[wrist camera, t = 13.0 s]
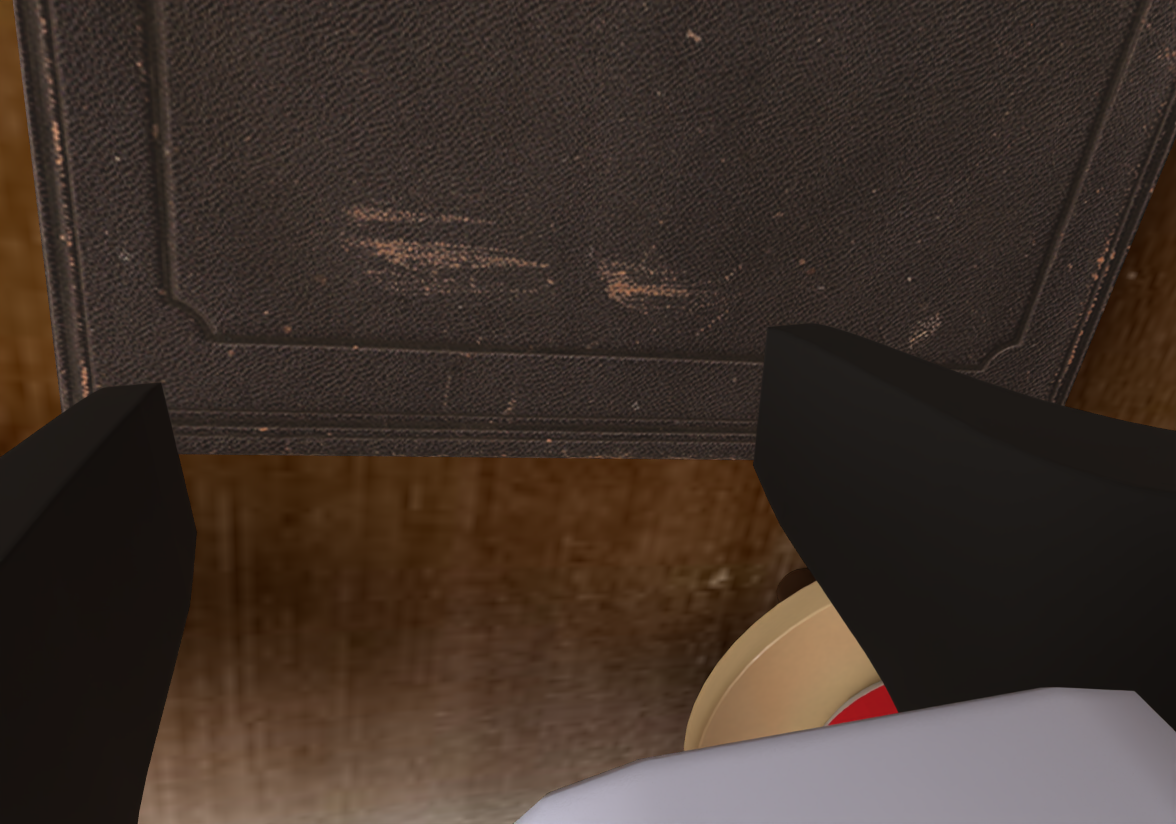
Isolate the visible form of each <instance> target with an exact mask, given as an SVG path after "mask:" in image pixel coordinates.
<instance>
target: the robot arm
mask: <svg viewBox="0 0 1176 824" xmlns="http://www.w3.org/2000/svg"><path fill="white" fill-rule="evenodd" d="M753 466H754V468H755V471H756V473H757V475H758V478H759V480H760V482H761V485H762V487H763V489H764V492H765V494H766V496H767V499H768V501H769V503H770V505H771V507H772V509H773V511H774V513H775V515H776V517H777V519H778V521H779V523H780V526H781V527H782V529H783V530H784V532H785V534H786V535H787V537H788V538H789V540H790V541H791V543H792V544H793V546H794V548H795V549H796V551H797V552H798V554H799V555H800V557H801V558H802V560H803V561H804V563H805V564H806V566H807V567H808V569H809V570H810V572H811V573H812V575H813V576H814V578H815V579H816V581H817V582H818V584H819V585H820V587H821V588H822V590H823V591H824V593H825V594H826V596H827V597H828V599H829V600H830V602H831V603H832V605H833V606H834V608H835V609H836V611H837V612H838V614H839V615H840V617H841V618H842V620H843V621H844V623H845V624H846V625H847V627H848V628H849V630H850V631H851V633H852V634H853V636H854V637H855V639H856V640H857V642H858V643H859V645H860V646H861V648H862V649H863V651H864V652H865V654H866V655H867V657H868V659H869V660H870V662H871V664H872V665H873V667H874V669H875V670H876V672H877V674H878V675H879V677H880V679H881V680H882V682H883V684H884V685H885V687H886V689H887V691H888V693H889V695H890V697H891V699H892V701H893V703H894V705H895V707H896V709H897V711H898V713H896V714H890V715H884V716H879V717H873V718H867V719H862V720H856V721H851V722H845V723H839V724H834V725H828V726H823V727H817V728H811V729H806V730H800V731H794V732H789V733H783V734H778V735H772V736H766V737H761V738H755V739H750V740H744V741H738V742H733V743H727V744H721V745H716V746H710V747H705V748H699V749H693V750H688V751H682V752H677V753H671V754H665V755H660V756H654V757H648V758H643V759H638V760H636V761H633V762H630V763H627V764H625V765H622V766H619V767H617V768H614V769H611V770H608V771H606V772H603V773H600V774H598V775H595V776H592V777H589V778H587V779H584V780H581V781H579V782H576V783H573V784H571V785H568V786H565V787H562V788H560V789H557V790H554V791H552V792H549V793H547V794H546V795H545V796H544V797H543V798H542V799H540V800H539V801H538V802H537V803H536V804H535V805H534V806H533V807H531V808H530V809H529V810H528V811H527V812H526V813H525V814H524V815H522V816H521V817H520V818H519V819H518V820H517V821H516V822H515V823H513V824H1176V431H1173V430H1168V429H1162V428H1156V427H1152V426H1147V425H1142V424H1137V423H1132V422H1127V421H1123V420H1119V419H1115V418H1110V417H1106V416H1102V415H1098V414H1094V413H1090V412H1086V411H1082V410H1078V409H1074V408H1070V407H1066V406H1062V405H1059V404H1055V403H1052V402H1048V401H1045V400H1041V399H1038V398H1034V397H1031V396H1028V395H1025V394H1022V393H1019V392H1016V391H1012V390H1009V389H1006V388H1003V387H1000V386H997V385H994V384H991V383H988V382H985V381H982V380H979V379H976V378H973V377H970V376H967V375H965V374H962V373H959V372H956V371H953V370H951V369H948V368H945V367H942V366H940V365H937V364H934V363H932V362H929V361H926V360H924V359H921V358H918V357H916V356H913V355H910V354H908V353H905V352H902V351H900V350H897V349H894V348H892V347H889V346H886V345H884V344H881V343H878V342H876V341H873V340H870V339H867V338H864V337H862V336H859V335H856V334H853V333H850V332H847V331H844V330H840V329H837V328H833V327H830V326H826V325H821V324H816V323H807V324H796V325H785V326H774V327H767V336H766V346H765V355H764V365H763V375H762V385H761V394H760V404H759V414H758V424H757V433H756V443H755V453H754V462H753ZM196 536H197V531H196V527H195V522H194V518H193V514H192V510H191V506H190V501H189V497H188V493H187V489H186V484H185V480H184V476H183V472H182V468H181V463H180V459H179V455H178V451H177V447H176V442H175V438H174V434H173V430H172V425H171V421H170V417H169V413H168V409H167V404H166V400H165V396H164V392H163V387H162V383H161V382H158V383H147V384H137V385H126V386H115V387H104V388H101V389H99V390H97V391H95V392H93V393H92V394H90V395H88V396H87V397H85V398H84V399H82V400H81V401H79V402H77V403H76V404H75V405H73V406H72V407H70V408H69V409H67V410H66V411H64V412H63V413H62V414H60V415H59V416H57V417H56V418H55V419H53V420H52V421H50V422H49V423H48V424H46V425H45V426H44V427H42V428H41V429H39V430H38V431H37V432H35V433H34V434H32V435H31V436H30V437H28V438H27V439H25V440H24V441H23V442H21V443H20V444H18V445H17V446H16V447H14V448H13V449H11V450H10V451H9V452H7V453H6V454H4V455H3V456H2V457H0V824H138V817H139V810H140V805H141V800H142V795H143V791H144V786H145V781H146V776H147V771H148V767H149V764H150V760H151V756H152V752H153V748H154V744H155V740H156V737H157V733H158V729H159V725H160V721H161V717H162V713H163V710H164V706H165V702H166V698H167V694H168V690H169V686H170V683H171V679H172V675H173V671H174V667H175V663H176V659H177V655H178V651H179V647H180V643H181V639H182V635H183V631H184V627H185V623H186V619H187V615H188V611H189V607H190V600H191V591H192V581H193V572H194V560H195V548H196Z"/></svg>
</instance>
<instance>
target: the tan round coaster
mask: <svg viewBox="0 0 1176 824" xmlns="http://www.w3.org/2000/svg"><path fill="white" fill-rule="evenodd" d="M777 598H778V600H779V602H780V603H779V604H777V605H776V606H775V607H774V608H772V609H771V610H770V611H769V612H767V613H766V614H765V615H764V616H762V617H761V618H760V619H759V620H757V621H756V622H755V623H754V624H753V625H752V626H751V627H750V628H749V629H748V630H747V631H746V632H745V633H744V634H743V635H742V636H741V637H739V638H738V639H737V640H736V641H735V642H734V644H733V645H732V646H731V647H730V648H729V650H728V651H727V652H726V653H725V655H724V656H723V657H722V658H721V659H720V661H719V662H718V663H717V665H716V666H715V668H714V669H713V671H712V672H711V674H710V675H709V677H708V678H707V680H706V681H705V683H704V685H703V687H702V689H701V691H700V693H699V695H698V697H697V699H696V701H695V703H694V706H693V709H692V712H691V715H690V718H689V721H688V724H687V730H686V736H685V742H684V751H688V750H693V749H699V748H705V747H710V746H716V745H721V744H727V743H733V742H738V741H744V740H750V739H755V738H761V737H766V736H772V735H778V734H783V733H789V732H794V731H800V730H806V729H811V728H817V727H823V726H824V724H825V723H826V722H827V721H828V720H829V719H830V718H831V716H832V715H833V714H834V713H835V712H836V711H837V710H838V709H839V708H840V707H841V706H842V705H843V704H844V703H845V702H847V701H848V700H849V699H850V698H852V697H853V696H854V695H856V694H857V693H859V692H860V691H862V690H864V689H865V688H867V687H869V686H871V685H873V684H875V683H877V682H879V681H882V680H881V679H880V677H879V675H878V674H877V672H876V670H875V669H874V667H873V665H872V664H871V662H870V660H869V659H868V657H867V655H866V654H865V652H864V651H863V649H862V648H861V646H860V645H859V643H858V642H857V640H856V639H855V637H854V636H853V634H852V633H851V631H850V630H849V628H848V627H847V625H846V624H845V623H844V621H843V620H842V618H841V617H840V615H839V614H838V612H837V611H836V609H835V608H834V606H833V605H832V603H831V602H830V600H829V599H828V597H827V596H826V594H825V593H824V591H823V590H822V588H821V587H820V585H819V584H818V582H817V581H816V579H815V578H814V576H813V575H812V573H811V572H810V570H809V569H798V570H795V571H793V572H791V573H789V574H788V575H786V576H785V577H784V578H783V579H782V580H781V582H780V583H779V585H778V588H777Z"/></svg>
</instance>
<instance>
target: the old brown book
mask: <svg viewBox="0 0 1176 824" xmlns="http://www.w3.org/2000/svg"><path fill="white" fill-rule="evenodd" d="M13 6H14V14H15V22H16V31H17V39H18V48H19V56H20V65H21V73H22V81H23V90H24V98H25V107H26V115H27V124H28V132H29V140H30V149H31V157H32V166H33V174H34V182H35V191H36V199H37V208H38V216H39V225H40V233H41V241H42V250H43V258H44V267H45V275H46V284H47V292H48V300H49V309H50V317H51V326H52V334H53V343H54V351H55V359H56V368H57V376H58V385H59V393H60V401H61V410H62V413H63V412H64V411H66V410H67V409H69V408H70V407H72V406H73V405H75V404H76V403H77V402H79V401H81V400H82V399H84V398H85V397H87V396H88V395H90V394H92V393H93V392H95V391H97V390H99V389H101V388H104V387H115V386H126V385H137V384H147V383H158V382H161V383H162V387H163V392H164V396H165V400H166V404H167V409H168V413H169V417H170V421H171V425H172V430H173V434H174V438H175V442H176V447H177V451H178V454H221V455H317V456H413V457H509V458H605V459H700V460H754V453H755V443H756V433H757V424H758V414H759V404H760V394H761V385H762V375H763V365H764V355H765V346H766V336H767V327H774V326H785V325H796V324H807V323H816V324H821V325H826V326H830V327H833V328H837V329H840V330H844V331H847V332H850V333H853V334H856V335H859V336H862V337H864V338H867V339H870V340H873V341H876V342H878V343H881V344H884V345H886V346H889V347H892V348H894V349H897V350H900V351H902V352H905V353H908V354H910V355H913V356H916V357H918V358H921V359H924V360H926V361H929V362H932V363H934V364H937V365H940V366H942V367H945V368H948V369H951V370H953V371H956V372H959V373H962V374H965V375H967V376H970V377H973V378H976V379H979V380H982V381H985V382H988V383H991V384H994V385H997V386H1000V387H1003V388H1006V389H1009V390H1012V391H1016V392H1019V393H1022V394H1025V395H1028V396H1031V397H1034V398H1038V399H1041V400H1045V401H1048V402H1052V403H1055V404H1059V405H1062V406H1065V403H1066V401H1067V398H1068V396H1069V393H1070V391H1071V389H1072V386H1073V384H1074V381H1075V379H1076V377H1077V374H1078V372H1079V369H1080V367H1081V365H1082V362H1083V360H1084V357H1085V355H1086V353H1087V350H1088V348H1089V345H1090V343H1091V340H1092V338H1093V336H1094V333H1095V331H1096V328H1097V326H1098V324H1099V321H1100V319H1101V316H1102V314H1103V312H1104V309H1105V307H1106V304H1107V302H1108V300H1109V297H1110V295H1111V292H1112V290H1113V288H1114V285H1115V283H1116V280H1117V278H1118V275H1119V273H1120V271H1121V268H1122V266H1123V263H1124V261H1125V259H1126V256H1127V254H1128V251H1129V249H1130V247H1131V244H1132V242H1133V239H1134V237H1135V235H1136V232H1137V230H1138V227H1139V225H1140V222H1141V220H1142V218H1143V215H1144V213H1145V210H1146V208H1147V206H1148V203H1149V201H1150V198H1151V196H1152V194H1153V191H1154V189H1155V186H1156V184H1157V182H1158V179H1159V177H1160V174H1161V172H1162V169H1163V167H1164V165H1165V162H1166V160H1167V157H1168V155H1169V153H1170V150H1171V148H1172V145H1173V143H1174V141H1175V138H1176V0H13Z"/></svg>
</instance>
